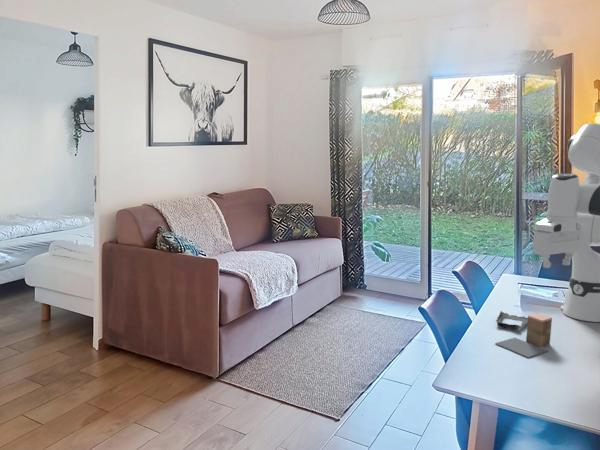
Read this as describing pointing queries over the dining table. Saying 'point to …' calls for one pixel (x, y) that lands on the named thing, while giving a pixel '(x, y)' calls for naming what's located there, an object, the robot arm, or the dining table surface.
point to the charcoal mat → (521, 347)
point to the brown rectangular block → (538, 330)
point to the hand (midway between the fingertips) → (556, 266)
